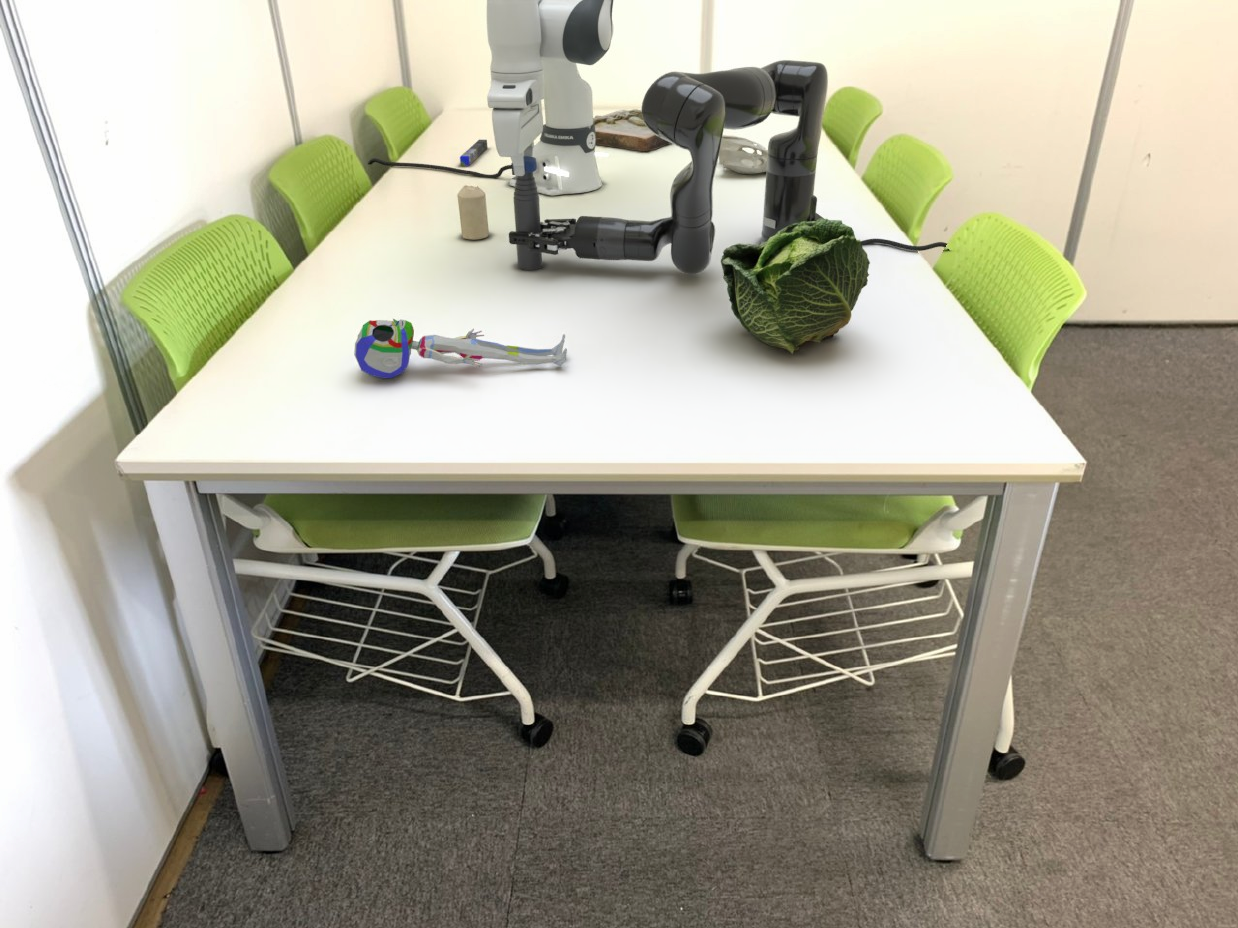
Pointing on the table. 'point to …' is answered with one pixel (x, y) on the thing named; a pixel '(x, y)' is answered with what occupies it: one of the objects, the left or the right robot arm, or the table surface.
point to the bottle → (527, 219)
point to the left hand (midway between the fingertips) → (523, 171)
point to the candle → (473, 212)
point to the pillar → (473, 152)
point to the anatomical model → (742, 155)
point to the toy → (435, 349)
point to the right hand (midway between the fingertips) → (514, 233)
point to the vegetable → (797, 282)
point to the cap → (529, 164)
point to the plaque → (626, 131)
